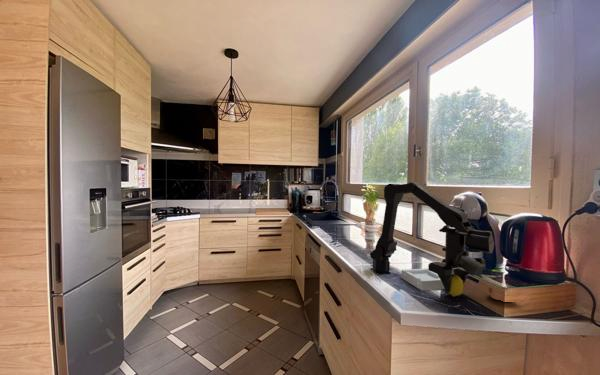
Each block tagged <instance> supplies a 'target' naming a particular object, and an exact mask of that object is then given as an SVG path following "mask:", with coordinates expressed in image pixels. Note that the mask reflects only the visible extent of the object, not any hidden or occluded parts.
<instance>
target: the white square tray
mask: <svg viewBox="0 0 600 375" xmlns="http://www.w3.org/2000/svg"><path fill="white" fill-rule="evenodd" d="M401 279H403V281H406V282H408V283H409V284H411V285H412V286H413V287H415V288H416V289H418V290H420V291H434V290H436V291H437V290H445V288H444V286H443V284H442V282H441V280H440V278H439V276H438V274H437V273H434V272H432V271H429V270H428V268H411V269H410V268H409V269H401Z"/></svg>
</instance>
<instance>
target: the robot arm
mask: <svg viewBox="0 0 600 375" xmlns="http://www.w3.org/2000/svg"><path fill="white" fill-rule="evenodd" d="M405 194H412V195H413V196H415V197H416V198H417V199H419V200H420V201H421V202H423V203H424V204H426V206H428V207H429V208H430V209H432V210H433V211H434V212H435V213H436V214H437V216H438V217H439V219H440V220H441V221H442V222H443V223H444V224H445V225H443V226H442V228H440V229H439V230H438V231H439V232H440V233H445V243H444V244H445V245H444V247H441V248H442V251H443V252H445V253H444V258H442V259H441V262H440V261H432V262H429V263H428V266H427V267H428V268H427V269H428V270H429V271H432V272H434V273H437V274H438V276H439V278H440V280H441V282H442V284H443V286H444V288H445V289H444V290H445V292H447V293H448V292H450V288H451V280H452V278H453V277H455V276H456V275H457V276H459V277H460V278H461V280H462V281H463V286H464V285H465V282H466V280H467V278H468V276H470V275H471V276H476V275H481V274H482V272H483V270H486V269H487V267H486V265H487V264H486V260H485V259H484V257H483V258H482V257H476V258H475V257H471V256H470V255H469V250H471V251H477V252H482V253H488V254H492V253H493V251H494V248H495V241H494V236H493V231H491V230H478V229H476V228H474V226H473V225H472V224H471V222H470V221H469V218H468V215H467V213H465V211H463V210H461V209H460V208H459V209H458V208H457V207H455V206H452V205H449V204H447V203H446V202H444V201H442V200H441V199H440V198H439V197H437V196H435V195H434V194H433V193H432V192H430V191H429V190H427V189H426V188H425V187H423V186H422V185H421V184H420V183H418V182H409V183H401V184H399V183H388V184H386V185H385V186H384V189H383V199H384V202H385V210H384V216H383V221H382V222H383V223H382V229H381V234H380V237H379V238H378V239H377V241H376V244H375V248H374V249H373V250H372V251H371V252H369V255H370V259H372V267H370V270H371V271H372V272H374V273H375V274H377V275H389V274H391V273H392V272H390V268H391V267H390V266H391V265H390V258H391V257H392V255H394V254H395V252H396V251H397V244H398V241H396V240H395V239H394V232H395V225H396V220H397V214H398V206H399V204H400V202H401V201H402V200H403V197H404V195H405ZM466 248H468V249H469V250H466ZM454 274H456V275H454ZM469 274H470V275H469Z"/></svg>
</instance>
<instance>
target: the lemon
mask: <svg viewBox="0 0 600 375" xmlns="http://www.w3.org/2000/svg"><path fill="white" fill-rule="evenodd" d="M453 274H454V273H453ZM454 275H456V274H454ZM463 291H464V285H463V281H462V280H461V278H460V277H459V276H457V275H456V276H455V277H453V278H452V280H451V288H450V292H447V293H448V294H450V295H451V296H452V297H456V296H457V297H458V296H460V295H461V294H463Z"/></svg>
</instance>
